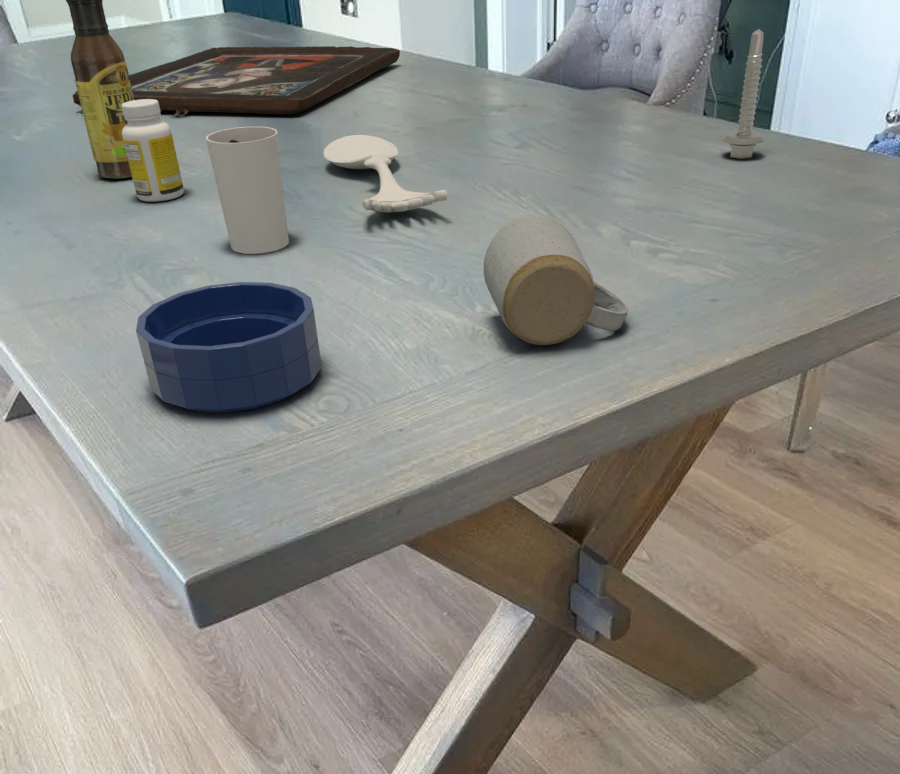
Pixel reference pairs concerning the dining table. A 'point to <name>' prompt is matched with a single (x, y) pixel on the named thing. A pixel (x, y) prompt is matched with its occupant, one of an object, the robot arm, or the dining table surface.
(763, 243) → the dining table surface
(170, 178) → the supplement bottle
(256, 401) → the bowl
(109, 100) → the sauce bottle
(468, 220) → the dining table surface
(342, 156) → the cream back scratcher
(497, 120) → the dining table surface
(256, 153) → the white cylindrical cup
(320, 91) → the religious icon
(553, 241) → the ceramic mug
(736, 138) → the screw
